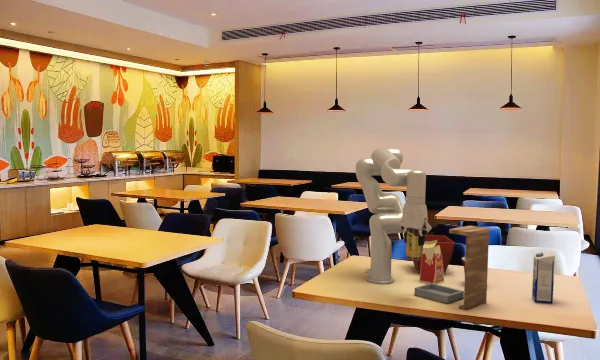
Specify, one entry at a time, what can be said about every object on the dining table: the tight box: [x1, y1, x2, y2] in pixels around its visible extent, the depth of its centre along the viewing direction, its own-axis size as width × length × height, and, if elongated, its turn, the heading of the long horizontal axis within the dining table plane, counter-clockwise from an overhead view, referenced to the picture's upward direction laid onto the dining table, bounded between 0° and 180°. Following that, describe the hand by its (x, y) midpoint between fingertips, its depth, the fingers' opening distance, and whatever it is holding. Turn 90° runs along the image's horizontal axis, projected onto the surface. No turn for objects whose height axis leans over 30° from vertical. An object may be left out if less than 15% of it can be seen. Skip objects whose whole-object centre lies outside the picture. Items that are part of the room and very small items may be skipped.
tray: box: [413, 283, 464, 305], centre depth 217 cm, size 16×12×3 cm
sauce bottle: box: [405, 228, 422, 262], centre depth 213 cm, size 7×6×20 cm
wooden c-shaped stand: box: [448, 225, 490, 311], centre depth 207 cm, size 9×15×30 cm, turn 132°
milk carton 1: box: [419, 240, 445, 285], centre depth 242 cm, size 9×9×20 cm
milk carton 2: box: [531, 252, 556, 305], centre depth 213 cm, size 7×7×20 cm
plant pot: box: [412, 234, 455, 275], centre depth 262 cm, size 19×19×17 cm
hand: (414, 243), depth 213 cm, fingers closed on sauce bottle, 6 cm apart
